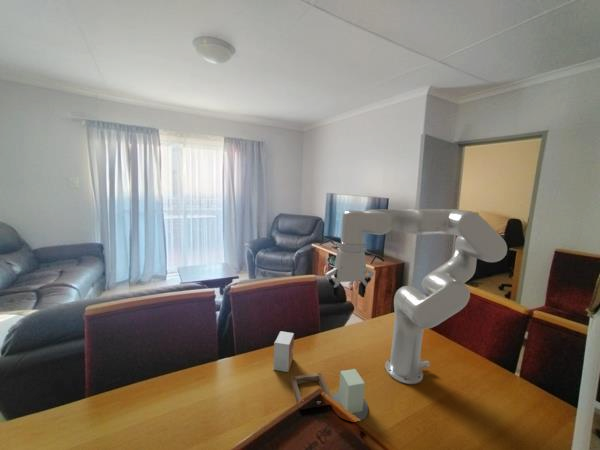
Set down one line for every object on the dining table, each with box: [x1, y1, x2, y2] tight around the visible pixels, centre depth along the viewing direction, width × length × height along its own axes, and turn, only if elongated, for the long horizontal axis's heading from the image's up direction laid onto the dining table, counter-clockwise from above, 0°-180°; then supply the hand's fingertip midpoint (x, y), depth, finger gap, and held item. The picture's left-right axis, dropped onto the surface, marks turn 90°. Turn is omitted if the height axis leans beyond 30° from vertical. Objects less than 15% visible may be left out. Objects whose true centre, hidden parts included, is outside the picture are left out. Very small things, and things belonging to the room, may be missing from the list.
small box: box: [273, 330, 295, 373], centre depth 93 cm, size 8×6×10 cm
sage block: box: [338, 368, 366, 413], centre depth 76 cm, size 5×6×9 cm
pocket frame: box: [290, 372, 333, 405], centre depth 81 cm, size 10×11×2 cm
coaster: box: [331, 390, 369, 421], centre depth 77 cm, size 11×11×1 cm
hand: (348, 296), depth 87 cm, fingers open, 9 cm apart
